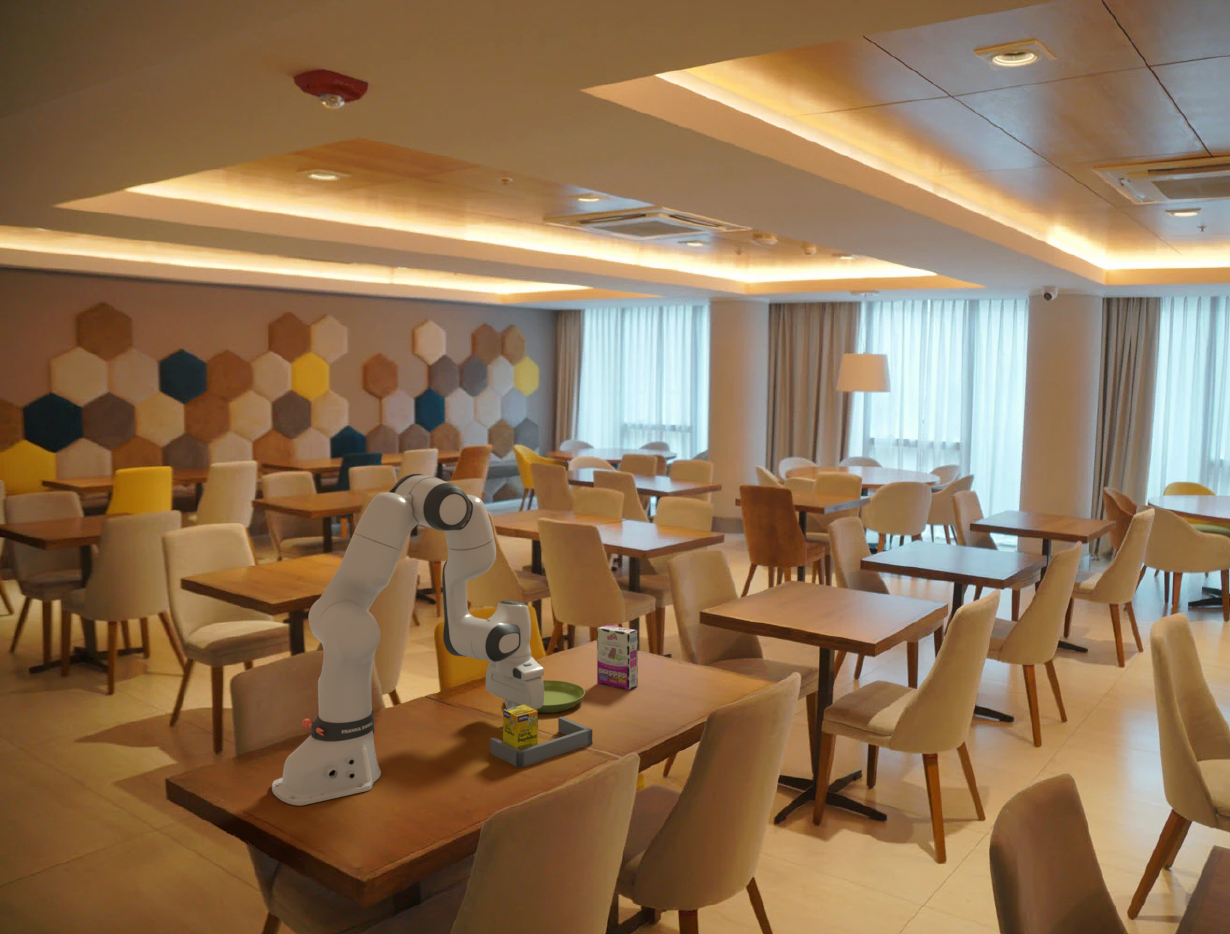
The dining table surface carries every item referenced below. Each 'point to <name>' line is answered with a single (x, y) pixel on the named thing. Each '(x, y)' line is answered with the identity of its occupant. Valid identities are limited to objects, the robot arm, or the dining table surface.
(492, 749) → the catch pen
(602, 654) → the candy bar box
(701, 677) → the dining table surface
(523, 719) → the supplement box
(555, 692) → the saucer
